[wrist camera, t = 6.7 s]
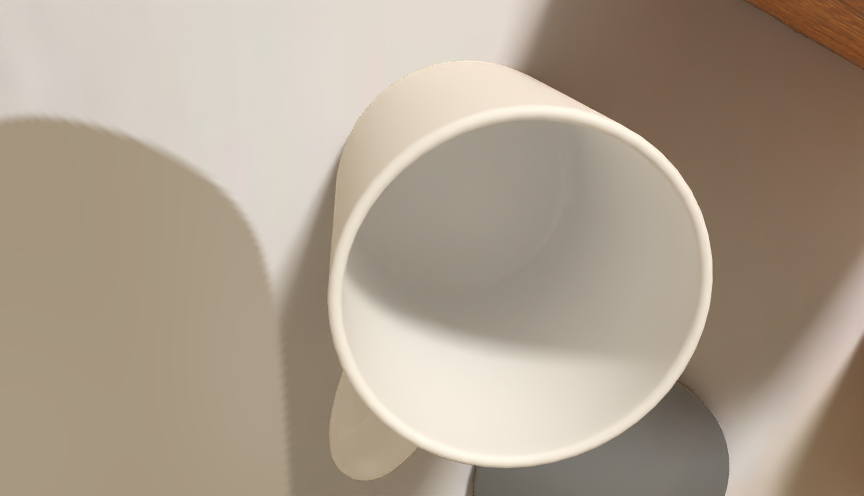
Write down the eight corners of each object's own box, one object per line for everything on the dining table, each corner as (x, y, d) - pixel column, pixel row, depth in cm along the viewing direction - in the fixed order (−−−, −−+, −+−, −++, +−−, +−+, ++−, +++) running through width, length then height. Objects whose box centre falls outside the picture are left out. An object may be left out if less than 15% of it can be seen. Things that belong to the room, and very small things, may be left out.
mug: (434, 414, 29) (476, 634, 19) (235, 309, 27) (169, 497, 17) (629, 144, 26) (792, 240, 16) (424, 4, 24) (474, 20, 14)
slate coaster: (498, 606, 32) (501, 617, 31) (450, 399, 29) (452, 408, 28) (731, 548, 32) (738, 558, 32) (711, 337, 29) (718, 344, 28)
